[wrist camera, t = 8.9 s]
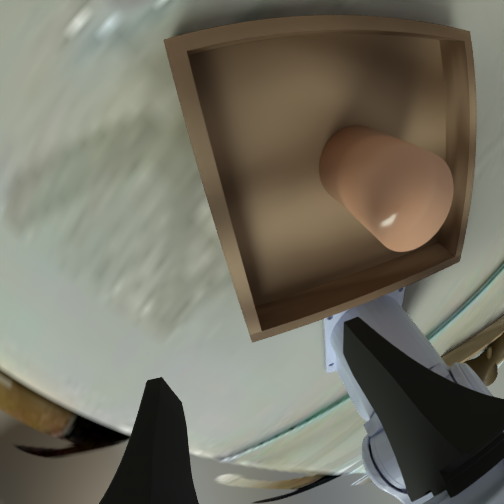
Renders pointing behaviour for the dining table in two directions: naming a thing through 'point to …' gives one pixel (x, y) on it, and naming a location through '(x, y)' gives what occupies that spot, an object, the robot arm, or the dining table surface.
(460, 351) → the oak frame
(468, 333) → the dining table surface
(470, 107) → the walnut tray
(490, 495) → the robot arm
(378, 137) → the tan rounded cylinder
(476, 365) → the kendama
